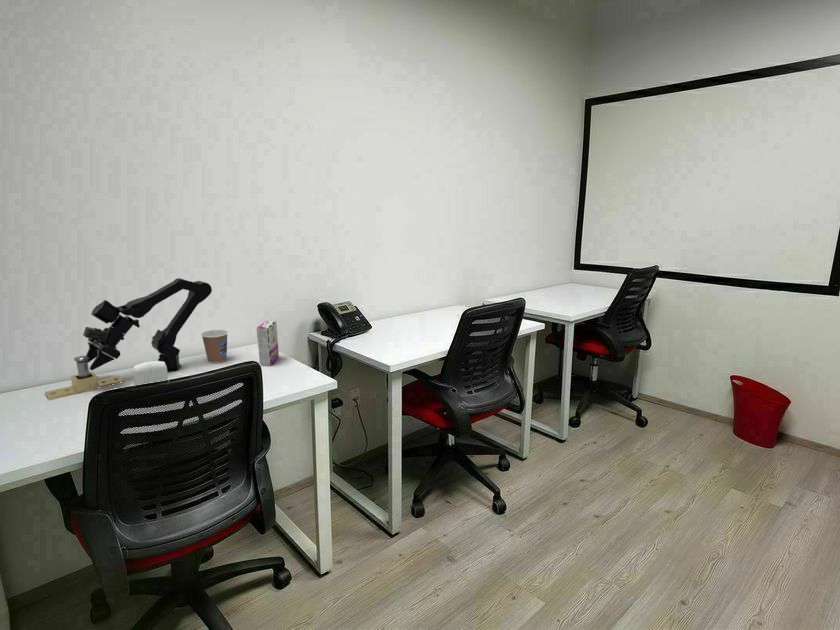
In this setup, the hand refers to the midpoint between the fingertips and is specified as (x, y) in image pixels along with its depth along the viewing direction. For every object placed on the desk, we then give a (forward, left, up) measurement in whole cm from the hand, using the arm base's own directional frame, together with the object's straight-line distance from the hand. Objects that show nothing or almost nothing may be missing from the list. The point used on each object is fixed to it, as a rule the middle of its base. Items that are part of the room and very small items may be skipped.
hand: (87, 366), depth 172 cm
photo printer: (-25, +12, -8) cm, 29 cm away
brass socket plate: (+1, +1, -8) cm, 8 cm away
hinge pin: (+1, +1, -8) cm, 8 cm away
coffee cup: (-38, -24, -8) cm, 46 cm away
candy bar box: (-60, -20, -8) cm, 63 cm away
